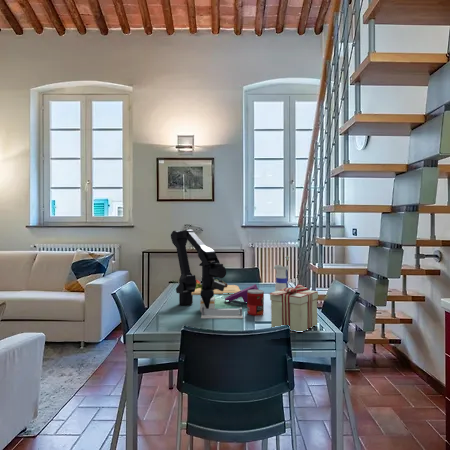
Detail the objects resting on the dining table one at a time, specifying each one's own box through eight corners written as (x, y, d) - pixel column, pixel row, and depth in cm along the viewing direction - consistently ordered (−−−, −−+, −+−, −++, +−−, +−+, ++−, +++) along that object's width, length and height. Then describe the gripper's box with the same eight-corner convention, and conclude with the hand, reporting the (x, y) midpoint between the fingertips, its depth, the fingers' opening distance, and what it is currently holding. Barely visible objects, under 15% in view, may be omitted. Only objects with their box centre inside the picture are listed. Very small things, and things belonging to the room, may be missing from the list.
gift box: (280, 318, 177) (280, 281, 176) (318, 325, 166) (319, 285, 166) (261, 327, 163) (262, 286, 162) (302, 335, 152) (303, 292, 152)
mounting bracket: (229, 314, 206) (260, 302, 202) (223, 300, 207) (253, 287, 203) (233, 310, 215) (262, 298, 212) (226, 296, 216) (255, 284, 212)
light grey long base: (201, 318, 177) (201, 310, 176) (202, 313, 186) (202, 305, 185) (242, 318, 177) (242, 310, 177) (241, 313, 186) (241, 305, 186)
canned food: (259, 316, 180) (259, 293, 180) (244, 314, 184) (244, 291, 184) (266, 313, 187) (266, 290, 186) (251, 311, 191) (251, 288, 191)
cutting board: (182, 296, 228) (182, 283, 228) (183, 288, 251) (183, 276, 251) (241, 295, 231) (241, 282, 231) (237, 288, 254) (237, 276, 254)
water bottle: (276, 298, 220) (277, 254, 220) (291, 299, 216) (291, 255, 215) (271, 300, 213) (271, 255, 213) (285, 302, 209) (286, 256, 208)
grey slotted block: (200, 311, 188) (200, 299, 188) (200, 309, 194) (200, 297, 194) (214, 311, 188) (214, 299, 188) (214, 309, 194) (214, 297, 194)
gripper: (224, 279, 181) (224, 312, 182) (224, 273, 200) (223, 303, 201) (200, 278, 181) (200, 312, 182) (202, 272, 200) (202, 303, 200)
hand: (207, 307), depth 191 cm, fingers closed on grey slotted block, 6 cm apart
